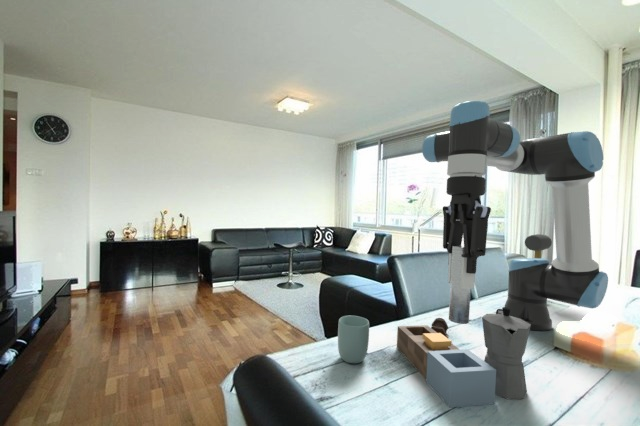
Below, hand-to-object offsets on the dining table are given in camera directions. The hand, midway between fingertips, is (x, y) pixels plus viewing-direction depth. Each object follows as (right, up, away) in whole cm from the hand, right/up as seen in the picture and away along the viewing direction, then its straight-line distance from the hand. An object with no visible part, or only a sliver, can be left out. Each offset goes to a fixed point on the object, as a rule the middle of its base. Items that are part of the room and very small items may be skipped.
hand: (460, 285), depth 67 cm
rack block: (-1, -23, 0) cm, 23 cm away
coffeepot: (+11, -23, +3) cm, 26 cm away
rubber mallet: (+68, -24, +75) cm, 104 cm away
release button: (-2, -21, +9) cm, 23 cm away
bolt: (+7, -23, +29) cm, 38 cm away
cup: (-22, -22, +12) cm, 33 cm away
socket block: (-3, -23, +13) cm, 26 cm away
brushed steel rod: (0, -8, 0) cm, 8 cm away
